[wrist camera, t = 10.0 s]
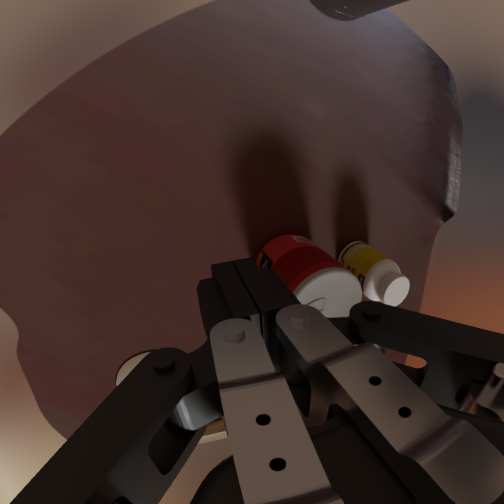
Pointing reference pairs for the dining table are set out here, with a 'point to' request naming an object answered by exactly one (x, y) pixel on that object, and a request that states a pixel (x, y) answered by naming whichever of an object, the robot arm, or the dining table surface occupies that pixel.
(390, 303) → the supplement bottle
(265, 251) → the canned food
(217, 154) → the dining table surface
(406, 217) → the dining table surface
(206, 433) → the stopper wall
